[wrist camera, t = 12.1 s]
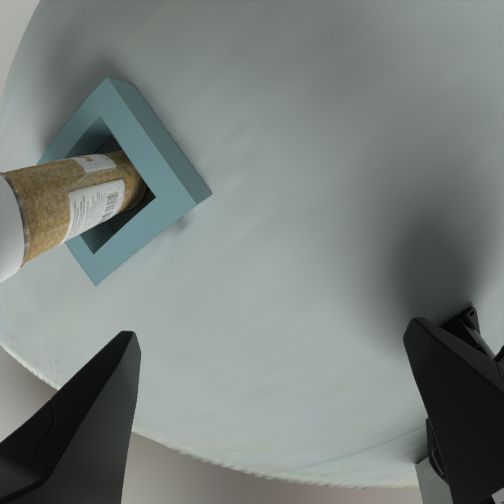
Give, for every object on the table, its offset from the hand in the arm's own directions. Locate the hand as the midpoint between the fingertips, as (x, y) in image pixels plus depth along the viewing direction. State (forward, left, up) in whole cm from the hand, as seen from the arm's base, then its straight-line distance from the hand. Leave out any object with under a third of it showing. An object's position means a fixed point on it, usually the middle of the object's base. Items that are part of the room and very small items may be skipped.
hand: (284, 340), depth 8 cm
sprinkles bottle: (+10, +8, -12) cm, 17 cm away
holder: (+10, +8, -11) cm, 17 cm away
